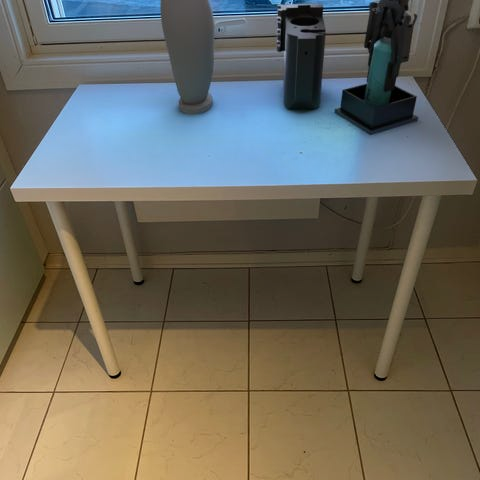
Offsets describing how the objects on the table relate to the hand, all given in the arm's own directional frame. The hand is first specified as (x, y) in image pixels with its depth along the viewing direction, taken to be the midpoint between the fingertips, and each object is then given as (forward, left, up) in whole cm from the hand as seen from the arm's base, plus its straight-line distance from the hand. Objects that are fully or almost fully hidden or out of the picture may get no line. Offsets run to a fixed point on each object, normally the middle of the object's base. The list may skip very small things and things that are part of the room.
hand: (380, 85), depth 129 cm
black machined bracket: (+20, +11, -8) cm, 24 cm away
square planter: (0, 0, -8) cm, 8 cm away
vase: (+31, +37, -8) cm, 49 cm away
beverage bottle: (+1, 0, -6) cm, 6 cm away
